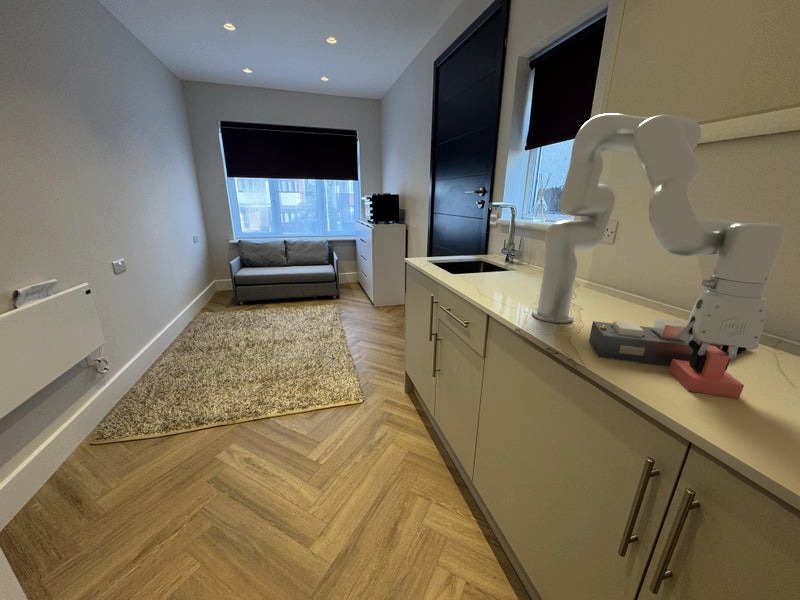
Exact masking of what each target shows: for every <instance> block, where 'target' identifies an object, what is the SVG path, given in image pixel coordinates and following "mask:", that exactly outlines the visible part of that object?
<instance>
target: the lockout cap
mask: <svg viewBox="0 0 800 600" xmlns="http://www.w3.org/2000/svg"><path fill="white" fill-rule="evenodd" d="M705 356H707V358H706V361H705V364H704V367H703V370H702V372H701V373H697V372H696V371H695V370H694V369H693V368H691V367H690V363H689V362H690V361H683V360H675V359H672V362H671V365H670V367H669V369H668V372H669V373H671V374H672V375H673V377H674V378H675V379H676V381H678V382H679V383H680V384H681V385H682V386H683V387H684V388H685V389H686V390H687V391H689V392H695V393H701V394H707V395H708V394H709V395H715V396H720V397H722V396H723V397H729V398H735V399H740V397H741V395H742V392H743V390H744V386H745V385H744V383H742V382H740V381H739V380H738V379H737V378H735V377H734V376H733V375H732V374H730V373H728V372H727V370H726V371H725V369H726V366H727V364H728V361H729V358H730V356H728V355H727V354H726V353H724V352H723V351H721V350H720V349H718V348H717V347H715V346H710V345H709V346H708V349H707V351H706V353H705ZM723 374H724V375H723Z"/></svg>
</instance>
